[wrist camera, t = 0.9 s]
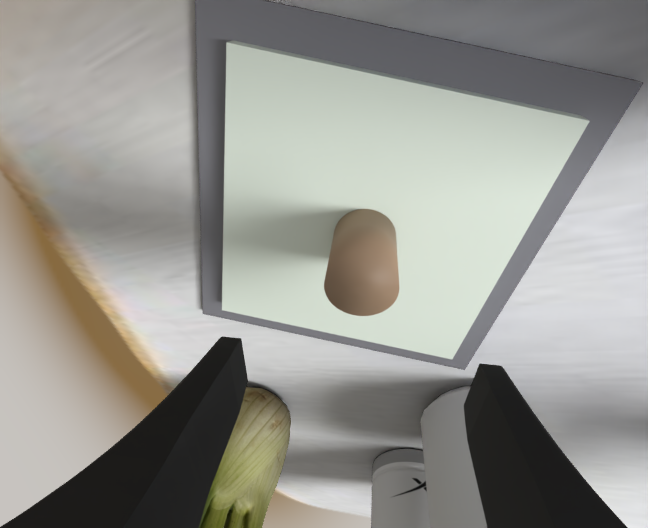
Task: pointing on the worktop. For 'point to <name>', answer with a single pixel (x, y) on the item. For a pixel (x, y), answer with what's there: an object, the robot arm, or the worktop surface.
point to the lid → (375, 196)
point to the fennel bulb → (249, 463)
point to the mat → (405, 61)
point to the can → (450, 464)
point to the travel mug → (399, 490)
